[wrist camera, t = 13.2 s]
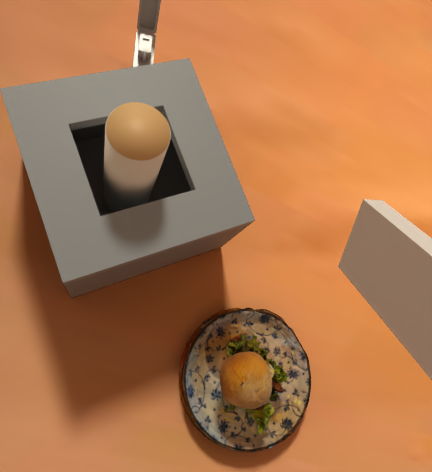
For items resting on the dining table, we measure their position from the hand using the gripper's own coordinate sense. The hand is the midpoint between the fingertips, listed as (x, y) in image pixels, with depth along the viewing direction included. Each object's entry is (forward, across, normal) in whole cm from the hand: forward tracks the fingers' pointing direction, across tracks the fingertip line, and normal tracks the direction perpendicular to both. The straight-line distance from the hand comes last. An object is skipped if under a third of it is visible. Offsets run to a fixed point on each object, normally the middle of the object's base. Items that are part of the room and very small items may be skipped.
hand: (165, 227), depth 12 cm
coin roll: (+23, 0, -10) cm, 25 cm away
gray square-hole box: (+24, 0, -10) cm, 26 cm away
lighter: (+34, +2, -1) cm, 34 cm away
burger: (+13, +11, -22) cm, 28 cm away
